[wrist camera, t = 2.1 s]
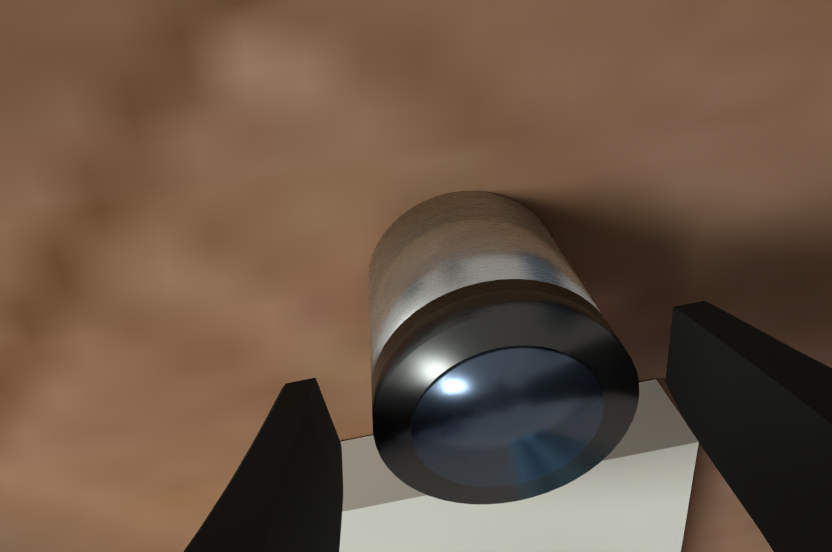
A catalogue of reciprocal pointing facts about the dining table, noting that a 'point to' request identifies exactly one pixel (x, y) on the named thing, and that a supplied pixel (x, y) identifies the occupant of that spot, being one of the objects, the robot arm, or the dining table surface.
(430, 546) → the camera body
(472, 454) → the lens
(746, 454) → the robot arm
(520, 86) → the dining table surface
